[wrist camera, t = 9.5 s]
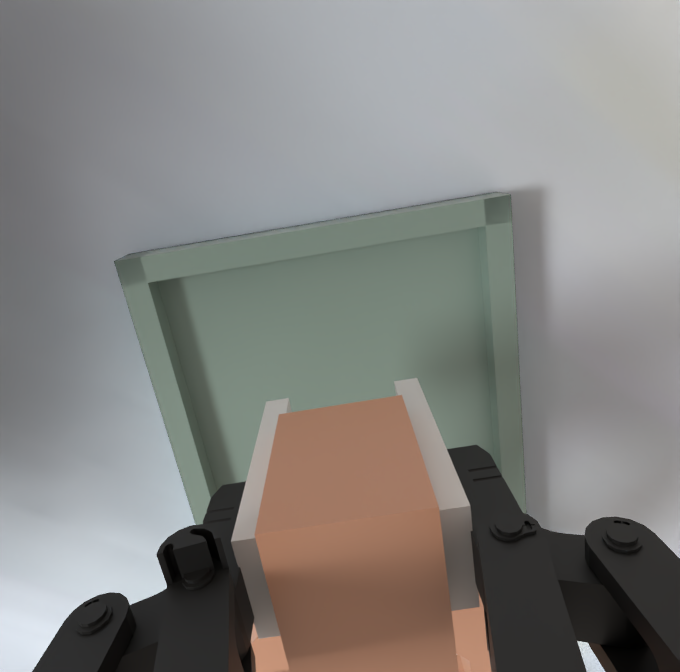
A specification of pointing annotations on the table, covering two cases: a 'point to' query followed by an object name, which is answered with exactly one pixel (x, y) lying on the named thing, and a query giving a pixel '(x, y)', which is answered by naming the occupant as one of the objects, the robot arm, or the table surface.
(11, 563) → the table surface
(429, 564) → the ring
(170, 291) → the tray
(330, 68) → the table surface
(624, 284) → the table surface
